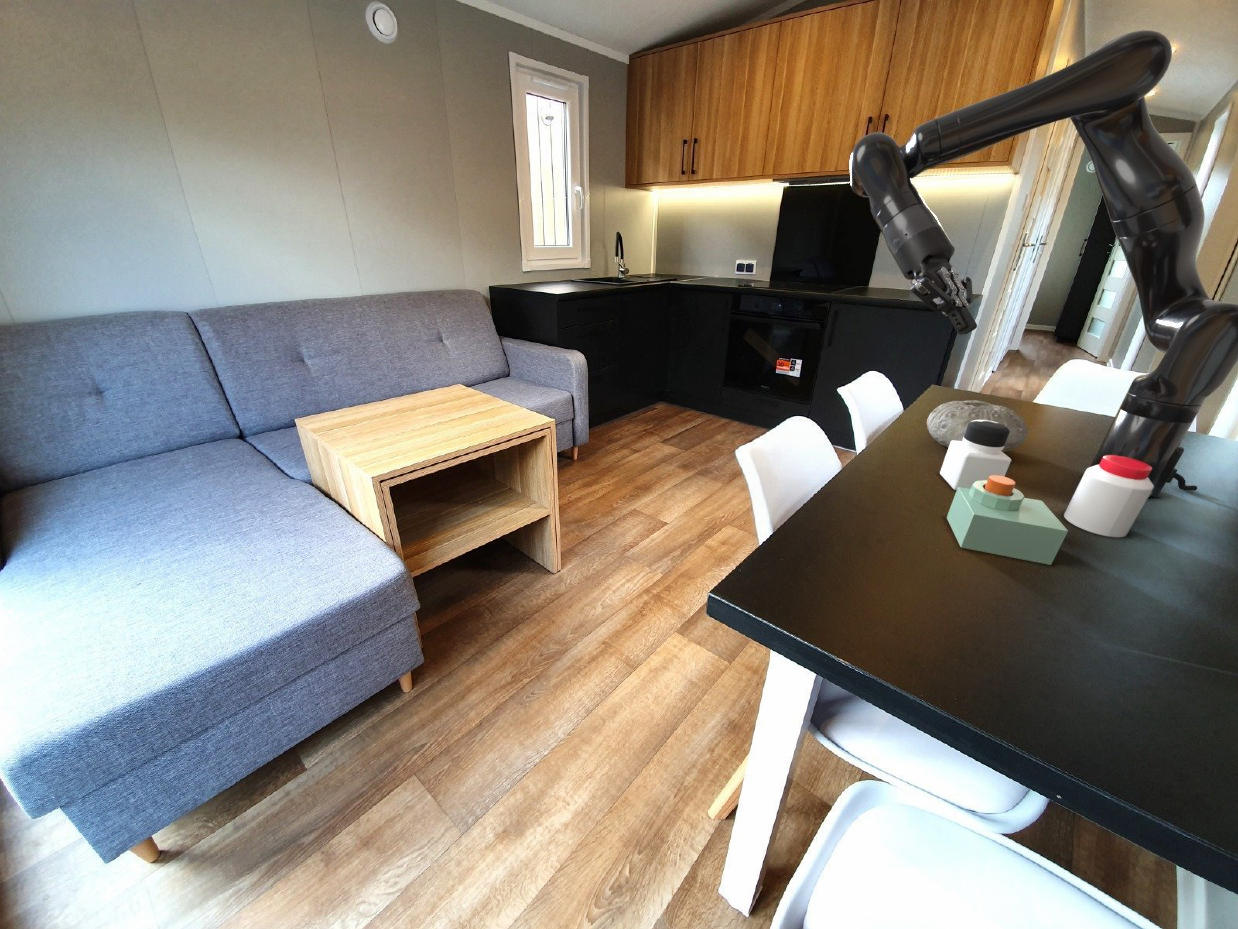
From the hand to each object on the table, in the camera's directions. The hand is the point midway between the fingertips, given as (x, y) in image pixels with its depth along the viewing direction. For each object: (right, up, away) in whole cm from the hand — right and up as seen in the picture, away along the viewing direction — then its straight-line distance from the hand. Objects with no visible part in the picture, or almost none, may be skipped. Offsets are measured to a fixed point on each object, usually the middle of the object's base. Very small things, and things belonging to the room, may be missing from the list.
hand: (968, 331), depth 76 cm
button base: (+2, -32, -2) cm, 32 cm away
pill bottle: (+22, -30, +3) cm, 38 cm away
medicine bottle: (+10, -24, +15) cm, 30 cm away
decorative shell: (+22, -17, +31) cm, 42 cm away
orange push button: (+2, -25, -3) cm, 25 cm away
